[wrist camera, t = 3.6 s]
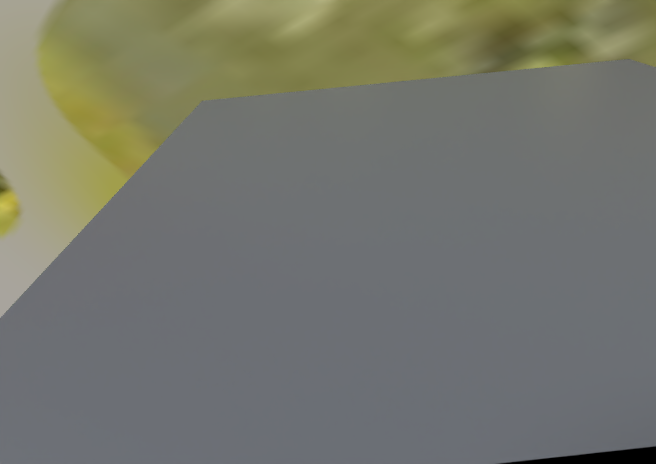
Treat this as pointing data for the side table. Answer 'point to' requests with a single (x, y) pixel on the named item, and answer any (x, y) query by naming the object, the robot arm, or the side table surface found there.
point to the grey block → (361, 284)
